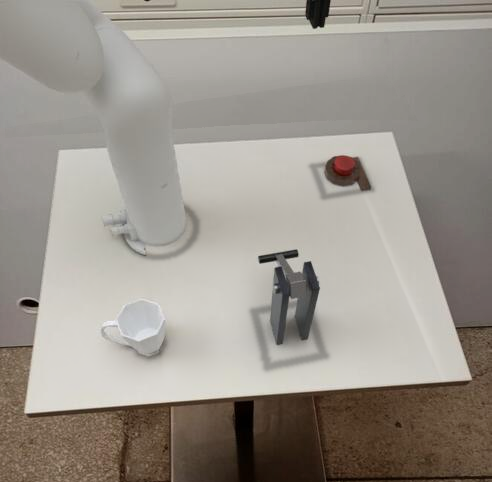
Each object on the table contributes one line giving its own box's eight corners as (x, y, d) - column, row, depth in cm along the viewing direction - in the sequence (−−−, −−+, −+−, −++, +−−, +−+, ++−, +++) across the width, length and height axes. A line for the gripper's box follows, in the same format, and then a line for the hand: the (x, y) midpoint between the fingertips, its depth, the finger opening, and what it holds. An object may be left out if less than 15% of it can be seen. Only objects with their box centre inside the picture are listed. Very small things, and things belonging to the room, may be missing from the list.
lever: (258, 265, 76) (257, 251, 75) (297, 258, 76) (296, 244, 75) (277, 301, 66) (275, 285, 64) (321, 293, 66) (320, 277, 65)
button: (336, 178, 92) (338, 170, 90) (330, 164, 93) (332, 156, 92) (355, 175, 92) (357, 167, 90) (349, 161, 94) (351, 153, 92)
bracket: (253, 311, 81) (254, 252, 67) (307, 301, 82) (319, 241, 68) (267, 367, 76) (272, 316, 62) (324, 356, 77) (341, 303, 63)
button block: (324, 197, 92) (326, 187, 90) (312, 166, 96) (314, 156, 94) (370, 189, 93) (373, 179, 91) (357, 159, 97) (360, 149, 95)
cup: (171, 364, 76) (163, 340, 69) (105, 365, 76) (91, 342, 69) (173, 323, 80) (166, 297, 73) (110, 324, 80) (97, 298, 72)
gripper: (279, -121, 54) (271, 45, 70) (411, -134, 55) (373, 31, 71) (263, -151, 57) (259, 14, 73) (387, -162, 59) (357, 2, 75)
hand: (315, 22), depth 72 cm, fingers closed
